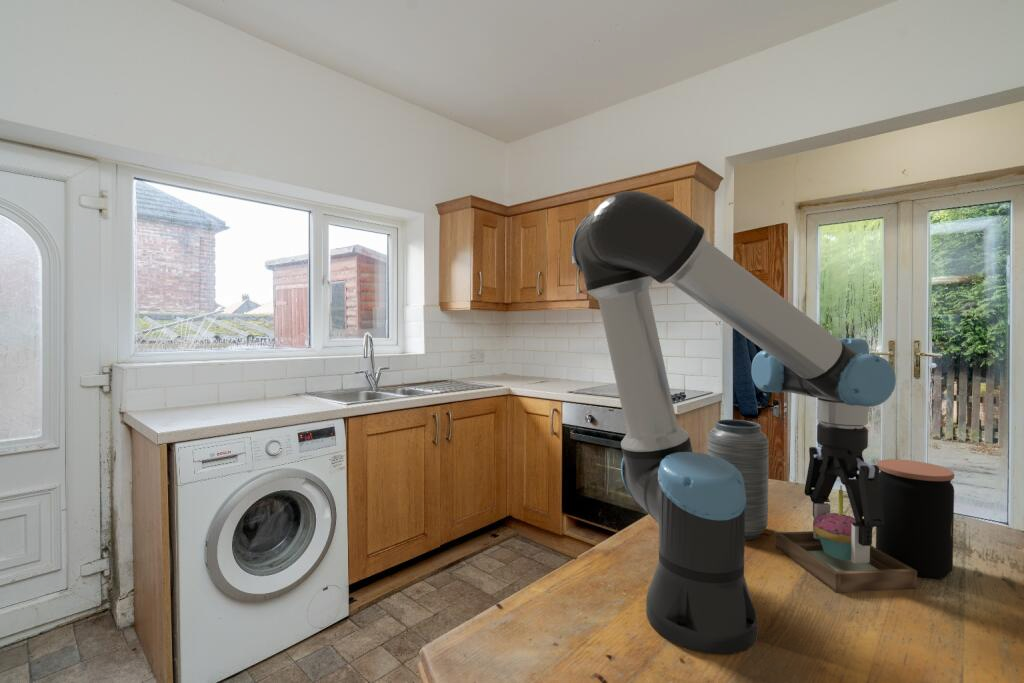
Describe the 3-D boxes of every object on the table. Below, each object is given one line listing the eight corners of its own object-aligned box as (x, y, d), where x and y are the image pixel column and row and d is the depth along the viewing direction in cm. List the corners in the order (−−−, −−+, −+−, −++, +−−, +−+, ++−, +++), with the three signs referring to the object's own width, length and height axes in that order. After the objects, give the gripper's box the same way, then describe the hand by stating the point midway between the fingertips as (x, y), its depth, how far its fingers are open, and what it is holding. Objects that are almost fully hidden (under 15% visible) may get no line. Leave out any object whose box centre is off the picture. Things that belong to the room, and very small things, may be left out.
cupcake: (812, 540, 92) (813, 478, 92) (867, 551, 88) (868, 486, 87) (812, 558, 85) (813, 490, 85) (871, 571, 80) (873, 500, 80)
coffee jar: (968, 584, 80) (971, 477, 80) (895, 578, 82) (897, 474, 82) (927, 555, 91) (929, 460, 90) (863, 550, 93) (865, 457, 92)
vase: (737, 517, 109) (738, 416, 108) (780, 538, 98) (782, 426, 97) (695, 523, 105) (696, 419, 105) (735, 546, 94) (736, 430, 94)
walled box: (835, 592, 78) (835, 573, 78) (775, 547, 94) (775, 532, 94) (916, 589, 79) (917, 571, 79) (843, 545, 95) (843, 530, 95)
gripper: (915, 437, 75) (912, 579, 76) (820, 413, 97) (818, 524, 97) (870, 438, 75) (867, 581, 75) (784, 414, 96) (782, 525, 97)
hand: (839, 549), depth 86 cm, fingers closed on cupcake, 9 cm apart
